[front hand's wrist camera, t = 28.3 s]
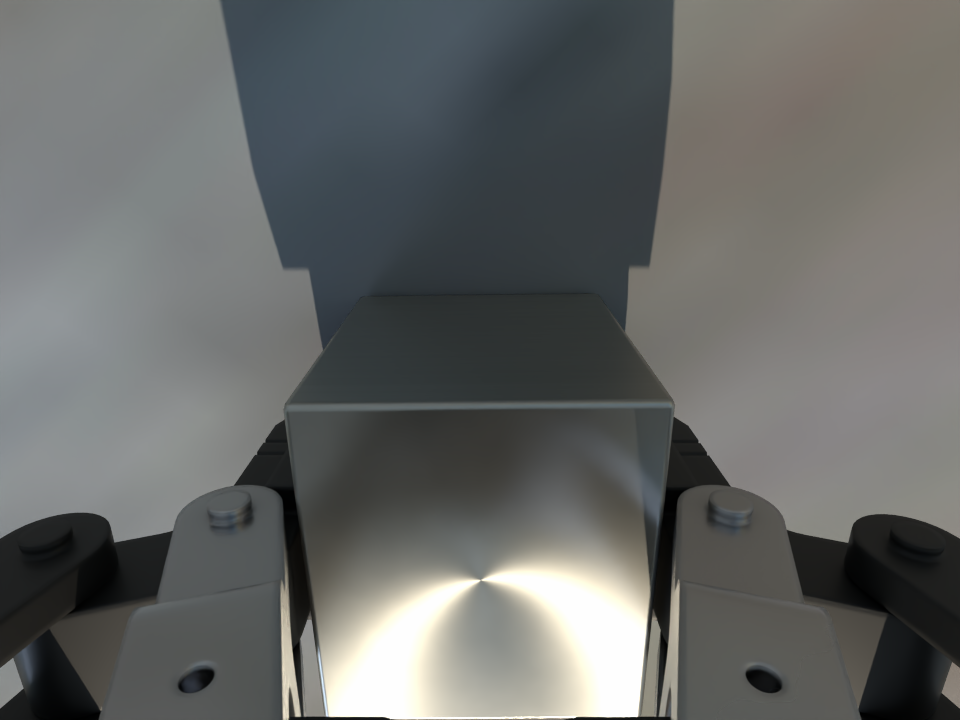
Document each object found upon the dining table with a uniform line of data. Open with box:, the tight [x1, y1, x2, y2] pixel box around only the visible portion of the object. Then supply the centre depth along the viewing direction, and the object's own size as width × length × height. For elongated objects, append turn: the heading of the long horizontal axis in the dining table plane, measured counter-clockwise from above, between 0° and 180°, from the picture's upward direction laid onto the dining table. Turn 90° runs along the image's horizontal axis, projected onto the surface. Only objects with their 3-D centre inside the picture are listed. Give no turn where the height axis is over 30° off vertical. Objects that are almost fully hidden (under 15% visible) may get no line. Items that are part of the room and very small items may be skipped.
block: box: [283, 294, 675, 720], centre depth 10 cm, size 5×4×5 cm
